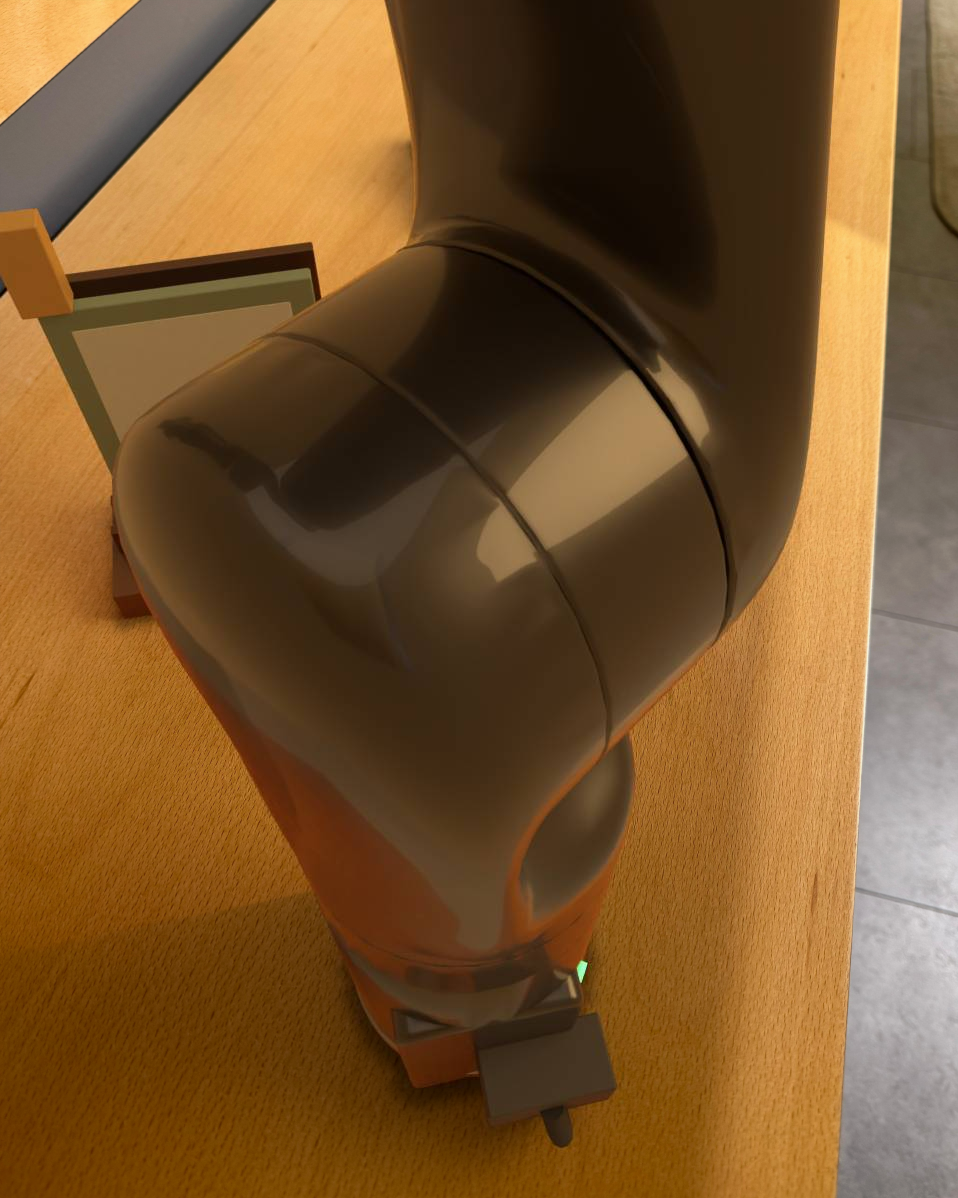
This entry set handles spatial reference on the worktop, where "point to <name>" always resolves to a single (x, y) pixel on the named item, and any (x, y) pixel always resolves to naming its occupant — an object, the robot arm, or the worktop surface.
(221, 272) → the window frame
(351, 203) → the worktop surface
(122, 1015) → the worktop surface
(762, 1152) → the worktop surface
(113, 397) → the sash
